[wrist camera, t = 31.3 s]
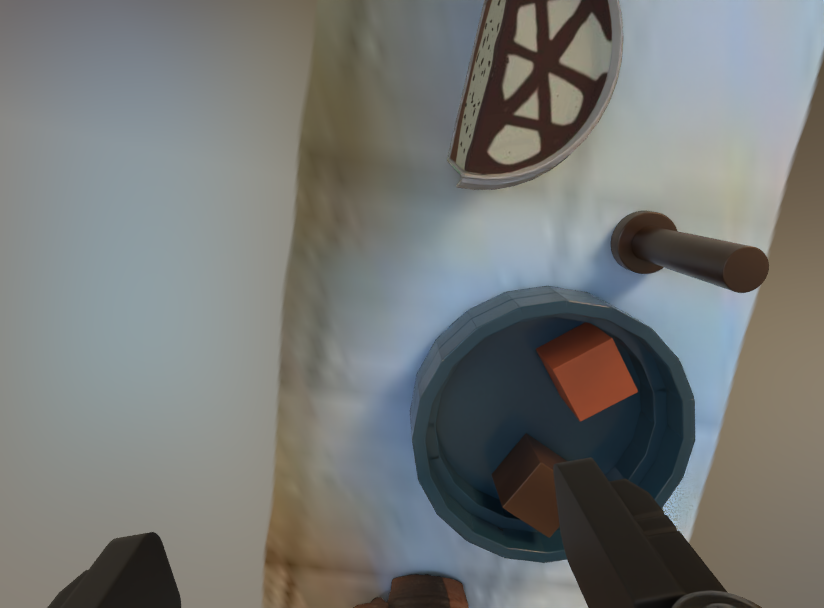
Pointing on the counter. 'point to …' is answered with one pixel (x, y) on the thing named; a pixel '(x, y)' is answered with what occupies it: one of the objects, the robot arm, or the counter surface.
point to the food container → (534, 87)
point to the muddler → (686, 253)
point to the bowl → (539, 412)
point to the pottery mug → (422, 593)
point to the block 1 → (529, 484)
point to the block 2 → (587, 370)
